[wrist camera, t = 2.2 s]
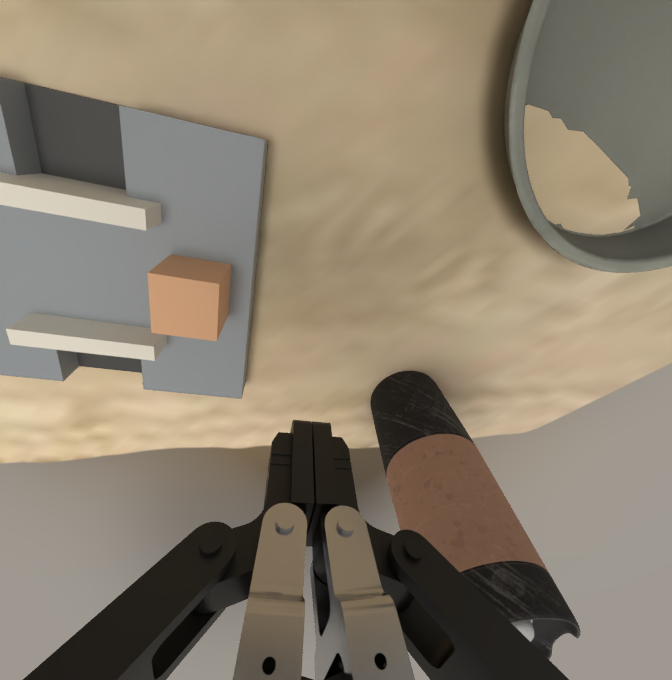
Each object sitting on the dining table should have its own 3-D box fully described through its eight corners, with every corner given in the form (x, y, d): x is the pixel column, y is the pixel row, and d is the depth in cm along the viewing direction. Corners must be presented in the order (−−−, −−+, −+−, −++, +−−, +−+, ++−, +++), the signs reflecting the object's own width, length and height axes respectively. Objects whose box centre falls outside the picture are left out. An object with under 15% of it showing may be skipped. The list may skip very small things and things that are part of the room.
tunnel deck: (-139, 44, 18) (-277, 10, 14) (268, 140, 22) (259, 138, 18) (-26, 352, 28) (-87, 390, 23) (245, 381, 31) (236, 418, 27)
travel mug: (354, 390, 33) (411, 652, 16) (424, 355, 32) (570, 599, 15) (386, 436, 37) (462, 690, 19) (450, 406, 35) (593, 651, 18)
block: (171, 254, 23) (147, 272, 19) (231, 264, 23) (219, 284, 20) (172, 307, 25) (151, 332, 21) (228, 315, 25) (216, 341, 22)
